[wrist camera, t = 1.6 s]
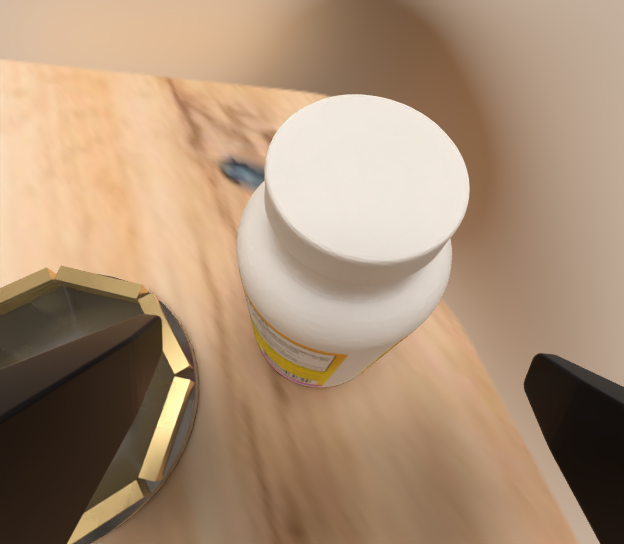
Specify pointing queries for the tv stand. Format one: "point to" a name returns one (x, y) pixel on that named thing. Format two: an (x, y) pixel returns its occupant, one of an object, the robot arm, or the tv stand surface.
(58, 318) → the carrier plate
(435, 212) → the supplement bottle
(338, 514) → the tv stand surface
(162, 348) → the robot arm
